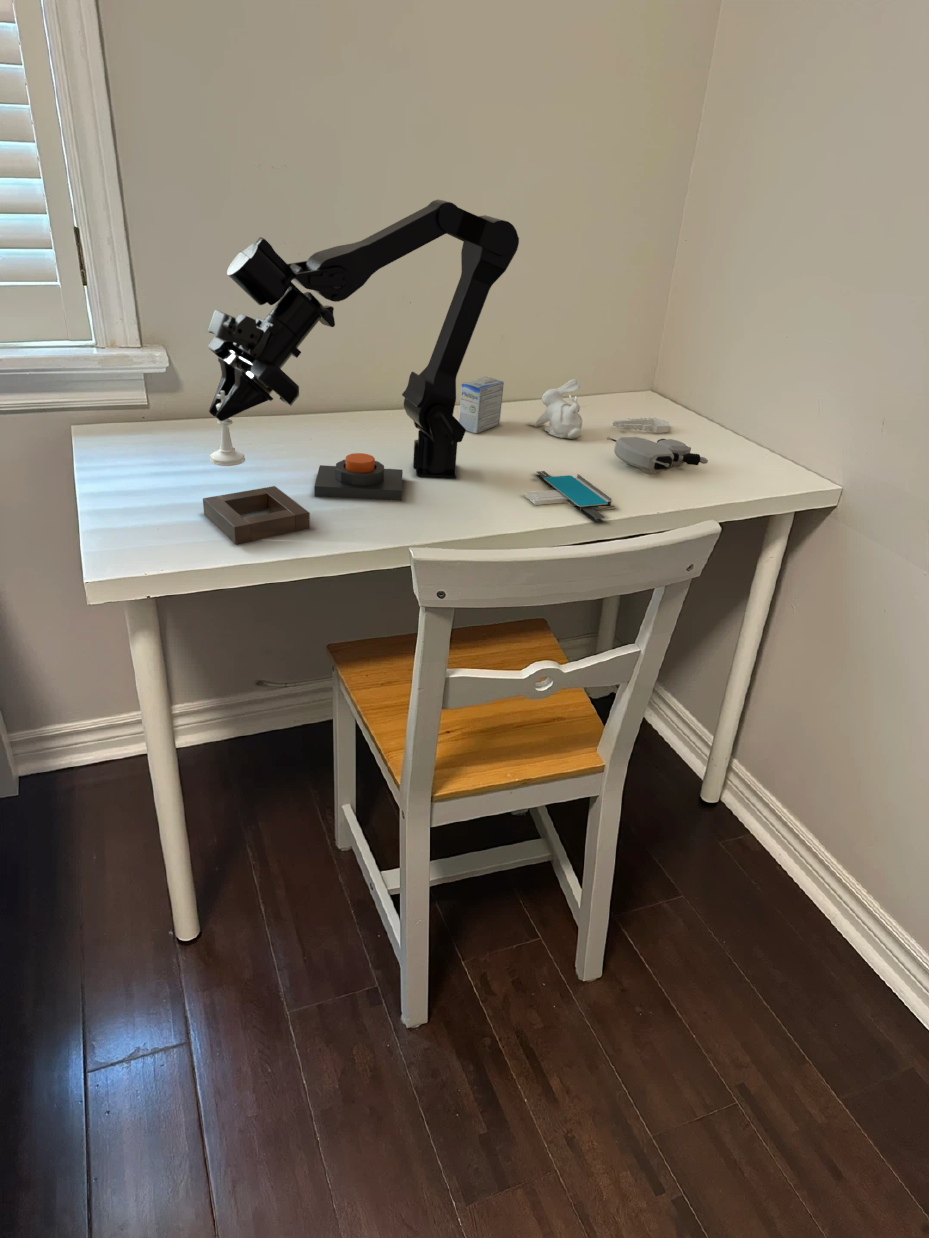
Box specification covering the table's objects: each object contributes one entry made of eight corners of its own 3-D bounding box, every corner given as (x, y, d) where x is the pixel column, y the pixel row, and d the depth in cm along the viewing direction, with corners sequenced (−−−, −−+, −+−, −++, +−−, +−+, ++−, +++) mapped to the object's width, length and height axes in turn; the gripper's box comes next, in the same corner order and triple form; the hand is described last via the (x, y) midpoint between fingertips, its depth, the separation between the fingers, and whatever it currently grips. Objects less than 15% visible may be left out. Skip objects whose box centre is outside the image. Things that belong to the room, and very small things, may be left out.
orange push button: (375, 464, 133) (375, 453, 132) (374, 474, 129) (374, 463, 129) (346, 463, 133) (346, 452, 132) (344, 473, 129) (344, 462, 128)
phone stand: (503, 478, 141) (504, 468, 140) (566, 473, 146) (568, 463, 145) (560, 527, 125) (561, 516, 125) (629, 519, 130) (631, 509, 129)
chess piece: (236, 468, 121) (231, 398, 116) (203, 463, 122) (197, 393, 117) (250, 457, 125) (246, 388, 120) (219, 452, 126) (213, 384, 121)
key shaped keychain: (622, 436, 166) (623, 427, 165) (608, 428, 170) (610, 419, 169) (677, 432, 171) (679, 423, 170) (663, 424, 175) (664, 416, 174)
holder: (275, 501, 126) (274, 485, 124) (310, 529, 118) (309, 512, 117) (203, 515, 120) (202, 498, 118) (235, 544, 112) (234, 527, 111)
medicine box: (481, 420, 168) (485, 375, 163) (500, 425, 166) (504, 380, 161) (457, 428, 162) (460, 382, 158) (476, 434, 160) (480, 388, 156)
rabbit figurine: (527, 424, 168) (533, 374, 163) (558, 420, 171) (564, 372, 167) (565, 443, 159) (573, 391, 154) (596, 439, 163) (604, 388, 158)
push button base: (402, 479, 137) (402, 458, 135) (401, 501, 129) (402, 479, 128) (319, 475, 136) (319, 454, 134) (314, 497, 128) (314, 474, 126)
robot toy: (661, 455, 160) (599, 458, 152) (667, 431, 158) (604, 433, 150) (708, 477, 151) (645, 482, 144) (715, 453, 149) (651, 456, 141)
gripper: (215, 276, 120) (146, 363, 120) (273, 301, 108) (196, 398, 107) (270, 330, 129) (205, 411, 128) (330, 359, 116) (258, 450, 116)
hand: (214, 416), depth 120 cm, fingers closed on chess piece
